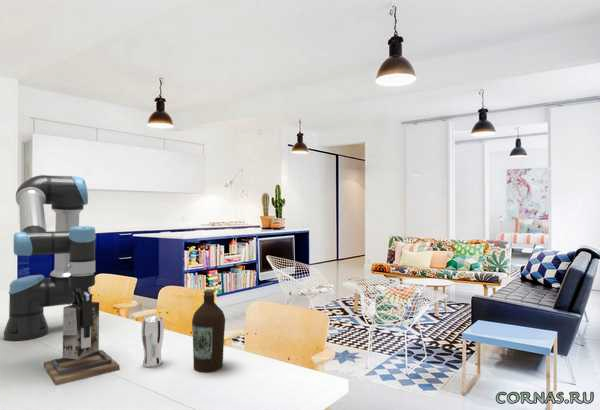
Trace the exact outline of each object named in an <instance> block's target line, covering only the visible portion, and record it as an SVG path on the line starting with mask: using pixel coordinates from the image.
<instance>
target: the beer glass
mask: <svg viewBox="0 0 600 410" xmlns="http://www.w3.org/2000/svg"><path fill="white" fill-rule="evenodd" d="M164 325H165V324H164V317H162V316H149V317H144V318H143V319H142V323H141V342H142V346H143V360H142V366H143V367H144V368H157V367H158V366H161V365H162V363H163V360H162V347H163V341H164V331H165V330H164V328H165V327H164Z"/></svg>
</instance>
